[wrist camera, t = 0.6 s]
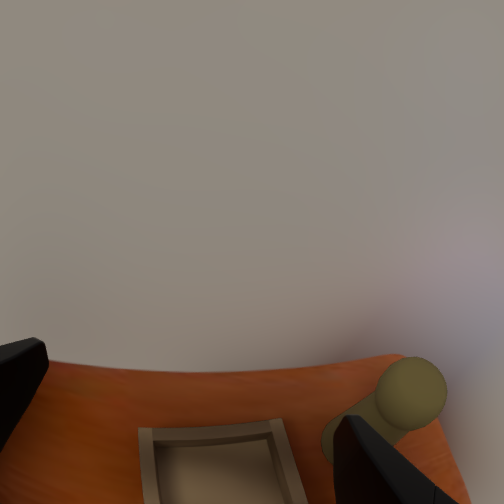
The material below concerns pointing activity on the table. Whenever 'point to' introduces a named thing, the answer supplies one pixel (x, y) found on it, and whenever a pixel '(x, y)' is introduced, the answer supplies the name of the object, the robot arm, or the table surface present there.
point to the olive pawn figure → (397, 402)
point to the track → (219, 465)
